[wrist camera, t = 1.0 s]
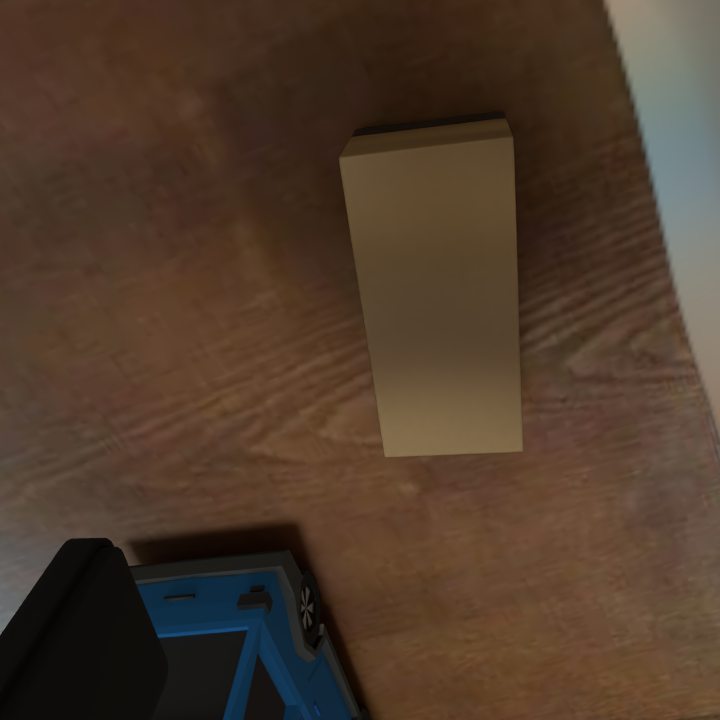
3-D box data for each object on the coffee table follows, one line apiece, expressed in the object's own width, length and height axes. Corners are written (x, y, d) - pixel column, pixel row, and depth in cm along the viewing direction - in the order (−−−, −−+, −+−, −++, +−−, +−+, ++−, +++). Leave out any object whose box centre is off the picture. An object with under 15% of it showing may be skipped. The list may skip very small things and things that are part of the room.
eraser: (354, 128, 23) (338, 157, 20) (503, 110, 22) (513, 136, 19) (392, 398, 28) (384, 458, 25) (514, 391, 28) (523, 452, 24)
